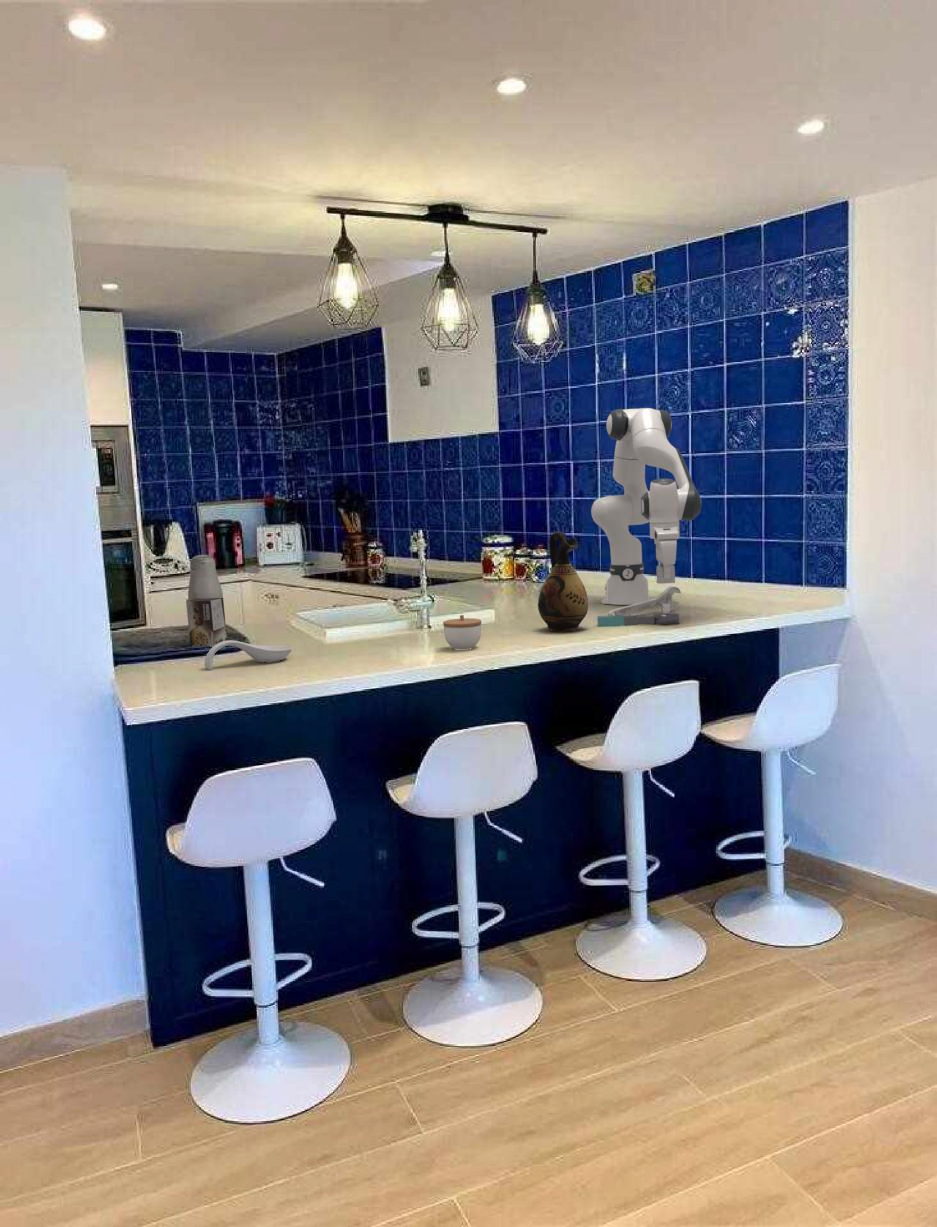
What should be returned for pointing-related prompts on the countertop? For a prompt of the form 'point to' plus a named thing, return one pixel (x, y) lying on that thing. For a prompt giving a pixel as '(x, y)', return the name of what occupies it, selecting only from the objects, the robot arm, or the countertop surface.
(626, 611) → the wrench
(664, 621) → the ratchet
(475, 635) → the lidded jar
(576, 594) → the ceramic jug
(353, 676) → the countertop surface
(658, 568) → the socket
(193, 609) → the coffee box
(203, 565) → the grey tapered cylinder
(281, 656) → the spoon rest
